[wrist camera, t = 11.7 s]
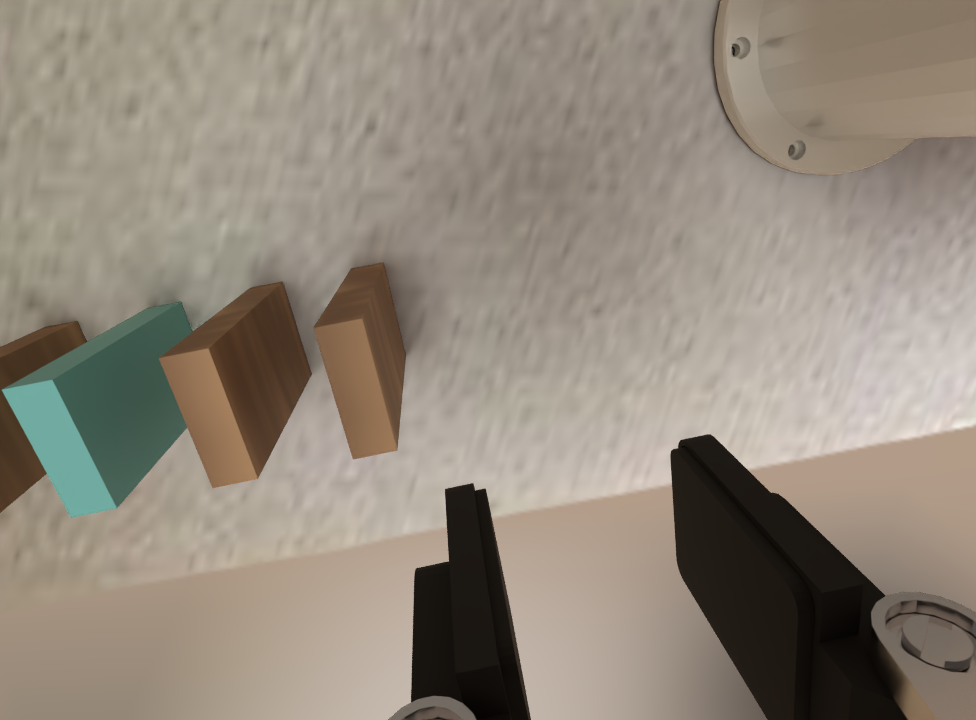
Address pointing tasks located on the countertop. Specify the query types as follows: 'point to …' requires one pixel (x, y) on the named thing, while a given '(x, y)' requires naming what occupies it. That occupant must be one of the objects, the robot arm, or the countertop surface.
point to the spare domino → (104, 410)
